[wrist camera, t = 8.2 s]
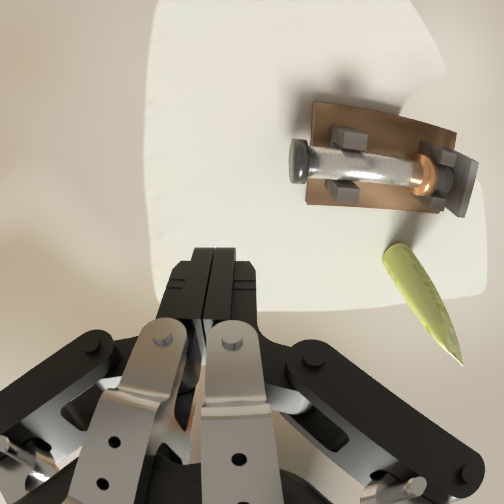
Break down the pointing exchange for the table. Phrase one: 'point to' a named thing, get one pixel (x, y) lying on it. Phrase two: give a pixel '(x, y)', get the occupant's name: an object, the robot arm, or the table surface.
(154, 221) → the table surface
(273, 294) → the table surface
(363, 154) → the shaft
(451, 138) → the bearing board
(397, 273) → the tube
